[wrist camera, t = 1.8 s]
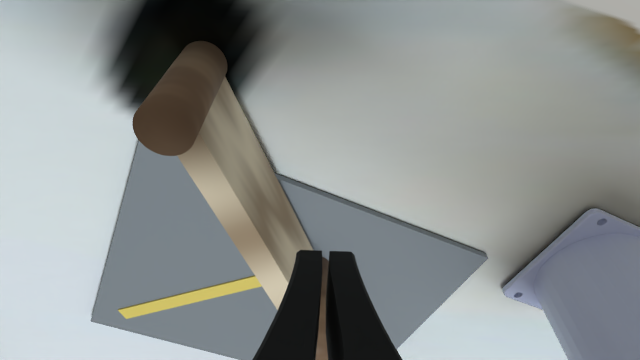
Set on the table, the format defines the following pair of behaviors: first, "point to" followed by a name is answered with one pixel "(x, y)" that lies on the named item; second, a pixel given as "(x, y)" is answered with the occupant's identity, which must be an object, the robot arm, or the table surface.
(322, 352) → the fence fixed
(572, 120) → the table surface
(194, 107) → the wooden plank
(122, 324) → the board
